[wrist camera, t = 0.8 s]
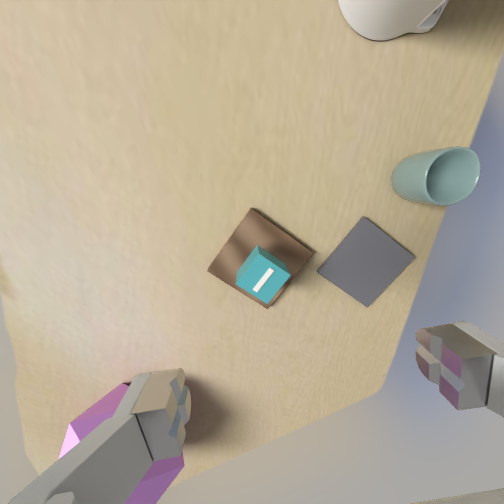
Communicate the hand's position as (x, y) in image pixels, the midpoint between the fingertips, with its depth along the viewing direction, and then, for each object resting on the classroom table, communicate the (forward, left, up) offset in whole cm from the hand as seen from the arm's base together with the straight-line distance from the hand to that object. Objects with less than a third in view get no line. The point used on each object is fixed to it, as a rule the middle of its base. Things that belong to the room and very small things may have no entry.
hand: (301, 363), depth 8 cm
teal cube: (+7, +6, -32) cm, 33 cm away
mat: (-4, +23, -37) cm, 43 cm away
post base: (+7, +6, -37) cm, 38 cm away
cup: (-20, +18, -37) cm, 46 cm away
